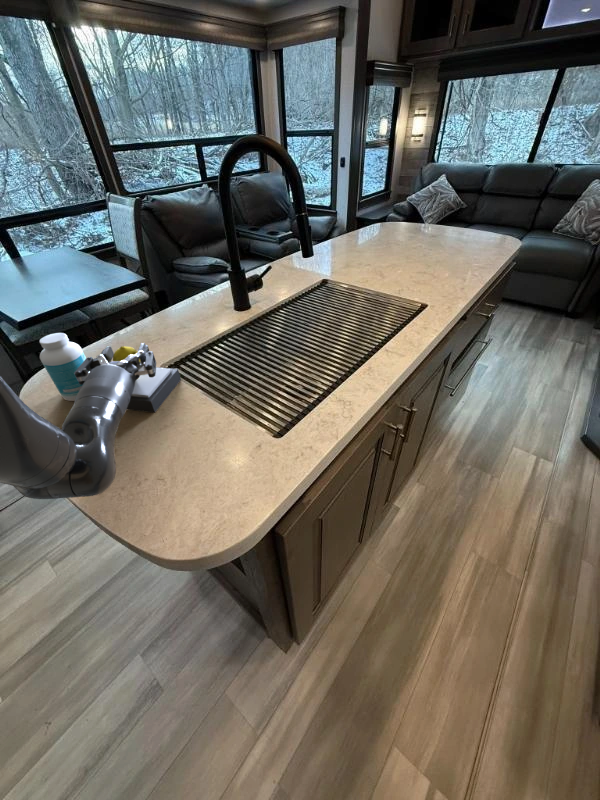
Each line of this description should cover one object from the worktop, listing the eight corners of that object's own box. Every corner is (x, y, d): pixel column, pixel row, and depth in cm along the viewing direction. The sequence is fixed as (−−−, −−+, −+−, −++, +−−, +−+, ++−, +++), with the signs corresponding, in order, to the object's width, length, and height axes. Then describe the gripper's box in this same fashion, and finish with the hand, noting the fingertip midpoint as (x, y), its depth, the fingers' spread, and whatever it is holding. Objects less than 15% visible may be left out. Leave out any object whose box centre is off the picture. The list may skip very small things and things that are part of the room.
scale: (94, 406, 70) (87, 392, 68) (126, 374, 79) (121, 361, 77) (155, 412, 68) (149, 399, 66) (181, 379, 77) (177, 366, 75)
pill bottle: (106, 389, 75) (81, 335, 67) (74, 406, 70) (43, 350, 62) (88, 379, 78) (61, 326, 70) (56, 395, 73) (23, 340, 65)
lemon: (153, 374, 73) (142, 342, 68) (136, 388, 69) (123, 355, 64) (133, 370, 74) (121, 338, 69) (115, 383, 70) (100, 350, 65)
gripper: (142, 373, 55) (158, 329, 68) (49, 383, 53) (83, 335, 66) (155, 407, 60) (167, 360, 73) (70, 417, 58) (98, 367, 71)
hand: (127, 348), depth 70 cm, fingers open, 6 cm apart
